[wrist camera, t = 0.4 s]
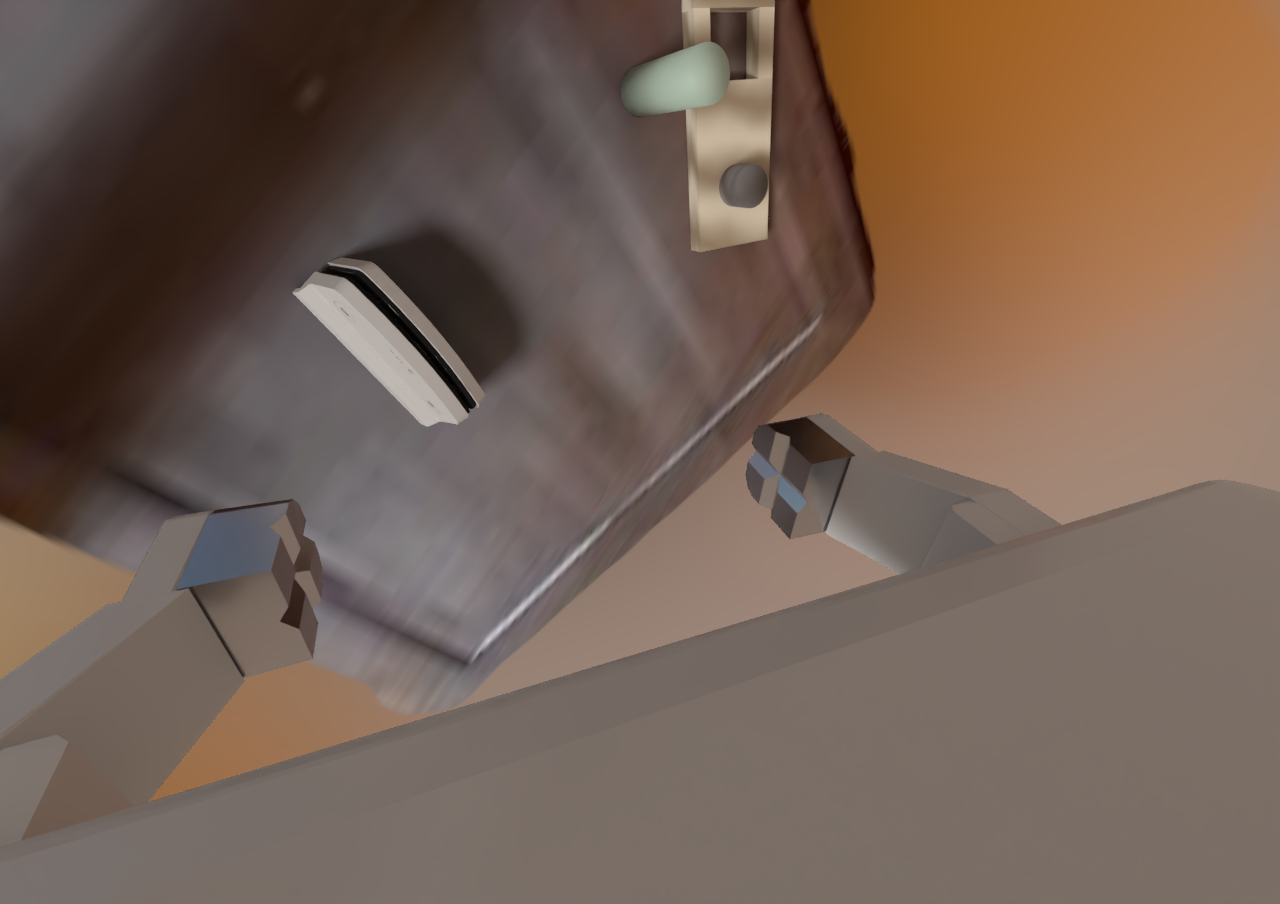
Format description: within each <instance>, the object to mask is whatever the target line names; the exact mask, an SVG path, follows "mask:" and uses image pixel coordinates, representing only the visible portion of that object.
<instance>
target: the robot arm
mask: <svg viewBox="0 0 1280 904" xmlns="http://www.w3.org/2000/svg"><path fill="white" fill-rule="evenodd" d="M752 444H753V446H754V448H755V450H756V452H755V453H754V454H753V456H752V457H751V458H750V459H749V461H748V464H747V470H746V480H747V486H748V489H749V491H750V493H751V495H752V497H753V498H754V499H755V500H756V501H757V503H758V504H760V505H762V506H764V507H766V508H769V509H771V519H772V520H773V521H774V522H775V523H776V524H777V525H778V527H779V528H780V529H781V530H782V531H783V532H784V533H785V534H786V536H787V537H788V538H789V539H793V538H798V537H802V536H807V535H812V534H816V533H821V532H825V531H826V534H827V535H829V536H831V537H833V538H835V539H836V540H838V541H840V542H842V543H844V544H845V545H848V546H849V547H851V548H853V549H855V550H856V551H858V552H860V553H862V554H864V555H865V556H867V557H869V558H871V559H873V560H875V561H876V562H878V563H880V564H882V565H884V566H885V567H887V568H889V569H891V570H893V571H894V572H897V573H898V574H899V575H896V576H892V577H889V578H886V579H883V580H880V581H876V582H873V583H870V584H867V585H863V586H860V587H856V588H853V589H850V590H846V591H843V592H840V593H837V594H833V595H830V596H827V597H823V598H820V599H816V600H813V601H810V602H807V603H803V604H801V605H797V606H793V607H790V608H787V609H783V610H780V611H777V612H774V613H770V614H767V615H764V616H760V617H757V618H754V619H750V620H747V621H744V622H740V623H737V624H734V625H731V626H727V627H724V628H721V629H718V630H714V631H711V632H707V633H704V634H701V635H698V636H695V637H691V638H688V639H684V640H681V641H678V642H675V643H671V644H668V645H665V646H662V647H658V648H655V649H651V650H648V651H645V652H642V653H639V654H635V655H632V656H629V657H625V658H622V659H618V660H615V661H612V662H609V663H605V664H602V665H599V666H595V667H592V668H589V669H586V670H582V671H579V672H576V673H572V674H569V675H566V676H563V677H559V678H556V679H553V680H549V681H546V682H543V683H539V684H536V685H533V686H529V687H526V688H523V689H520V690H516V691H513V692H510V693H506V694H503V695H500V696H496V697H493V698H490V699H487V700H484V701H480V702H477V703H474V704H470V705H467V706H464V707H460V708H457V709H454V710H450V711H447V712H444V713H440V714H437V715H434V716H430V717H427V718H424V719H421V720H417V721H414V722H411V723H408V724H404V725H401V726H397V727H394V728H391V729H388V730H384V731H381V732H378V733H374V734H371V735H368V736H365V737H361V738H358V739H355V740H351V741H348V742H345V743H341V744H338V745H335V746H332V747H328V748H325V749H322V750H318V751H315V752H312V753H309V754H305V755H302V756H299V757H295V758H292V759H289V760H285V761H282V762H279V763H276V764H272V765H269V766H266V767H262V768H259V769H256V770H252V771H249V772H246V773H242V774H240V775H236V776H233V777H229V778H226V779H223V780H219V781H216V782H213V783H209V784H206V785H203V786H200V787H197V788H194V789H190V790H186V791H183V792H180V793H177V794H174V795H170V796H167V797H163V798H160V799H157V800H153V801H150V802H148V801H149V800H150V799H151V798H152V796H153V795H154V794H155V792H156V791H157V790H158V789H159V788H160V786H161V785H162V784H163V782H164V781H165V780H166V779H167V778H168V776H169V775H170V774H171V773H172V771H173V770H174V769H175V768H176V766H177V765H178V764H179V763H180V761H181V760H182V759H183V758H184V756H185V755H186V754H187V753H188V751H189V750H190V749H191V748H192V746H193V745H194V744H195V743H196V741H197V740H198V739H199V738H200V736H201V735H202V734H203V733H204V731H205V730H206V729H207V728H208V726H209V725H210V724H211V723H212V721H213V720H214V719H215V718H216V716H217V715H218V714H219V713H220V711H221V710H222V709H223V707H224V706H225V705H226V704H227V703H228V701H229V700H230V699H231V698H232V696H233V695H234V694H235V693H236V691H237V690H238V689H239V688H240V686H241V685H242V684H243V683H244V679H243V678H245V677H249V676H252V675H256V674H260V673H263V672H267V671H271V670H274V669H278V668H281V667H285V666H289V665H293V664H297V663H300V662H304V661H307V660H311V659H313V654H314V647H315V640H316V634H317V627H318V621H317V619H316V617H315V614H314V612H313V608H314V607H315V606H316V605H317V604H318V603H319V602H320V601H321V598H322V590H323V577H322V566H321V562H320V557H319V553H318V550H317V548H316V545H315V542H314V541H312V540H310V539H308V538H307V537H305V536H303V533H304V528H305V522H306V519H305V517H304V515H303V512H302V510H301V508H300V505H299V503H297V502H296V501H295V500H294V499H290V500H283V501H276V502H269V503H262V504H255V505H248V506H241V507H234V508H227V509H220V510H215V511H206V512H200V513H194V514H187V515H181V516H175V517H172V518H170V519H168V520H166V521H165V522H164V523H163V525H162V527H161V529H160V530H159V532H158V534H157V536H156V538H155V540H154V542H153V544H152V545H151V547H150V549H149V551H148V553H147V555H146V557H145V558H144V560H143V562H142V564H141V566H140V568H139V570H138V572H137V573H136V575H135V577H134V579H133V581H132V583H131V585H130V587H129V588H128V590H127V592H126V594H125V596H124V598H123V600H122V601H121V602H117V603H112V604H108V605H105V606H104V607H103V608H101V609H100V610H98V611H97V612H95V613H94V614H93V615H91V616H90V617H88V618H87V619H86V620H84V621H83V622H81V623H80V624H79V625H77V626H76V627H74V628H73V629H71V630H70V631H69V632H67V633H66V634H64V635H63V636H61V637H60V638H59V639H57V640H56V641H54V642H53V643H51V644H50V645H49V646H47V647H46V648H44V649H43V650H41V651H40V652H39V653H37V654H36V655H34V656H33V657H32V658H30V659H29V660H27V661H26V662H24V663H23V664H22V665H20V666H19V667H17V668H16V669H15V670H13V671H12V672H10V673H9V674H8V675H6V676H5V677H3V678H2V679H0V904H1280V492H1278V491H1274V490H1270V489H1266V488H1261V487H1257V486H1254V485H1250V484H1246V483H1240V482H1235V481H1229V480H1214V481H1207V482H1203V483H1198V484H1195V485H1192V486H1188V487H1185V488H1182V489H1179V490H1176V491H1173V492H1170V493H1166V494H1163V495H1160V496H1156V497H1153V498H1150V499H1146V500H1143V501H1140V502H1137V503H1133V504H1130V505H1127V506H1123V507H1120V508H1117V509H1113V510H1110V511H1107V512H1104V513H1101V514H1097V515H1094V516H1091V517H1087V518H1084V519H1081V520H1077V521H1074V522H1071V523H1067V524H1064V525H1061V524H1060V523H1058V522H1057V521H1055V520H1054V519H1052V518H1051V517H1049V516H1048V515H1046V514H1045V513H1043V512H1042V511H1040V510H1038V509H1037V508H1035V507H1034V506H1032V505H1031V504H1029V503H1027V502H1026V501H1025V500H1023V499H1021V498H1020V497H1019V496H1017V495H1016V494H1014V493H1013V492H1011V491H1009V490H1008V489H1005V488H1002V487H998V486H995V485H992V484H989V483H985V482H982V481H979V480H976V479H973V478H969V477H966V476H963V475H960V474H957V473H953V472H950V471H947V470H944V469H941V468H937V467H934V466H931V465H928V464H925V463H922V462H918V461H915V460H912V459H908V458H906V457H902V456H899V455H896V454H893V453H889V452H886V451H880V452H878V451H876V450H875V449H874V448H872V447H871V446H870V445H868V444H867V443H866V442H864V441H863V440H862V439H860V438H859V437H858V436H856V435H855V434H854V433H852V432H851V431H850V430H848V429H846V428H845V427H844V426H843V425H841V424H840V423H839V422H837V421H836V420H835V419H833V418H832V417H831V416H829V415H826V414H822V413H820V414H816V415H811V416H805V417H801V418H798V419H792V420H787V421H780V422H775V423H769V424H763V425H759V426H758V427H757V429H756V430H755V432H754V435H753V441H752Z"/></svg>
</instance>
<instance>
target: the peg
mask: <svg viewBox="0 0 1280 904" xmlns="http://www.w3.org/2000/svg"><path fill="white" fill-rule="evenodd" d="M729 81H730V66H729V61H728V58H727V56H726V54H725V52H724V50H723V49H722V48H721V47H720V46H719V45H717V44H716V43H714V42H703V43H700V44H697V45H695V46H692V47H689V48H686V49H683V50H680V51H678V52H675V53H672V54H669V55H666V56H663V57H660V58H658V59H655V60H652V61H649V62H646V63H643V64H641V65H638V66H635V67H632V68H630V69H629V70H628V71H627V72H626V73H625V74H624V76H623V78H622V81H621V85H620V96H621V100H622V103H623V105H624V107H625V109H626V110H627V111H628V112H629V113H630V114H631V115H633V116H636V117H645V116H651V115H657V114H663V113H669V112H674V111H680V110H686V109H692V108H698V107H704V106H709V105H713V104H715V103H717V102H718V101H720V100H721V99H722V97H723V96H724V94H725V93H726V91H727V88H728V85H729Z"/></svg>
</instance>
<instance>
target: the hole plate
mask: <svg viewBox="0 0 1280 904" xmlns="http://www.w3.org/2000/svg"><path fill="white" fill-rule="evenodd" d="M723 12H747V41H746V79H745V80H731V81H729V85H728V88H727V91H726V93H725V94H724V96H723V97H722V99H721V100H720V101H718V102H717V103H715V104H713V105H709V106H704V107H698V108H692V109H686V127H687V153H688V179H689V205H690V230H691V250H694V251H698V252H704V251H709V250H714V249H719V248H724V247H729V246H734V245H739V244H744V243H749V242H754V241H759V240H764V239H767V229H768V198H769V167H770V136H771V105H772V74H773V43H774V12H775V0H682V24H683V49H686V48H689V47H692V46H695V45H697V44H700V43H703V42H711V35H710V13H723Z"/></svg>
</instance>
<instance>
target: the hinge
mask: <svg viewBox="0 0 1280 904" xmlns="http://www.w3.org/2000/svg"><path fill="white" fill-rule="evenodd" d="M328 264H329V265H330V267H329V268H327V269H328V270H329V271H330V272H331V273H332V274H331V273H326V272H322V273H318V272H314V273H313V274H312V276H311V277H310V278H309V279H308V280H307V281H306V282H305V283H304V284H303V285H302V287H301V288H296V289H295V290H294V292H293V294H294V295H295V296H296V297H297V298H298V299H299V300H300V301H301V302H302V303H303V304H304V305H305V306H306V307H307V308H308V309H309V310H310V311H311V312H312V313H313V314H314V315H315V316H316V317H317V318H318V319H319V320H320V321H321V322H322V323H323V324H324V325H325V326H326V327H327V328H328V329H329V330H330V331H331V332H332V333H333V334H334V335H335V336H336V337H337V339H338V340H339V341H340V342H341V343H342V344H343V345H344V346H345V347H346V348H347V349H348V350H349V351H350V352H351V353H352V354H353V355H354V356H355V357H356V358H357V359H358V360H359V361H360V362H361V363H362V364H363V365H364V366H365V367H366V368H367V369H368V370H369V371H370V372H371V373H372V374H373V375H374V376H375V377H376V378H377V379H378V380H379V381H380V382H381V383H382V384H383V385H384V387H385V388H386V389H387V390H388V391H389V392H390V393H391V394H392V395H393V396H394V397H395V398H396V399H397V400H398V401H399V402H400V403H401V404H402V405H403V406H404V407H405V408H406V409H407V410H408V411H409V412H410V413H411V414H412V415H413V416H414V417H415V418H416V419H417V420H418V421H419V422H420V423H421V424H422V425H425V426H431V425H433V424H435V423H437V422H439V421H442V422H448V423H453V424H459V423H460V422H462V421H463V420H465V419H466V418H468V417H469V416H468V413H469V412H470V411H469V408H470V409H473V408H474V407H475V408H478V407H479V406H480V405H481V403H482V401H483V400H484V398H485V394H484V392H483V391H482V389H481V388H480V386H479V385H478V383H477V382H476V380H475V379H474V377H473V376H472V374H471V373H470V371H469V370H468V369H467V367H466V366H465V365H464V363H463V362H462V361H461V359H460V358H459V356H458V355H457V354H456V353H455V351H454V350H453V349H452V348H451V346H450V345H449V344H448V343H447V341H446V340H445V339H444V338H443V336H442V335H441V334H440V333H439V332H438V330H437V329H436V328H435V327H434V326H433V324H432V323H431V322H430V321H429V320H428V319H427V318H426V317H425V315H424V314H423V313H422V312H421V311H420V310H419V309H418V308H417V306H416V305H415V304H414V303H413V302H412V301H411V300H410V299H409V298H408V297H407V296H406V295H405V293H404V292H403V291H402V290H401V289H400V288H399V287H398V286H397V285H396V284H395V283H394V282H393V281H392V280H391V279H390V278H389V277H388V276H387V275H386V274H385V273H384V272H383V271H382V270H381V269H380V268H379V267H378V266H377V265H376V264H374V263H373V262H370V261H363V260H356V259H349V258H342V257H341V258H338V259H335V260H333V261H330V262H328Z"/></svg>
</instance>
